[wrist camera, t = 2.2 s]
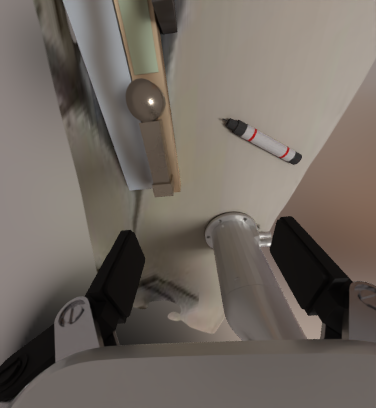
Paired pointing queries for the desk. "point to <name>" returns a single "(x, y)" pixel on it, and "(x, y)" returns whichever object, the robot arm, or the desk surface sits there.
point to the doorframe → (126, 71)
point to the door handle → (152, 131)
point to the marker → (263, 141)
